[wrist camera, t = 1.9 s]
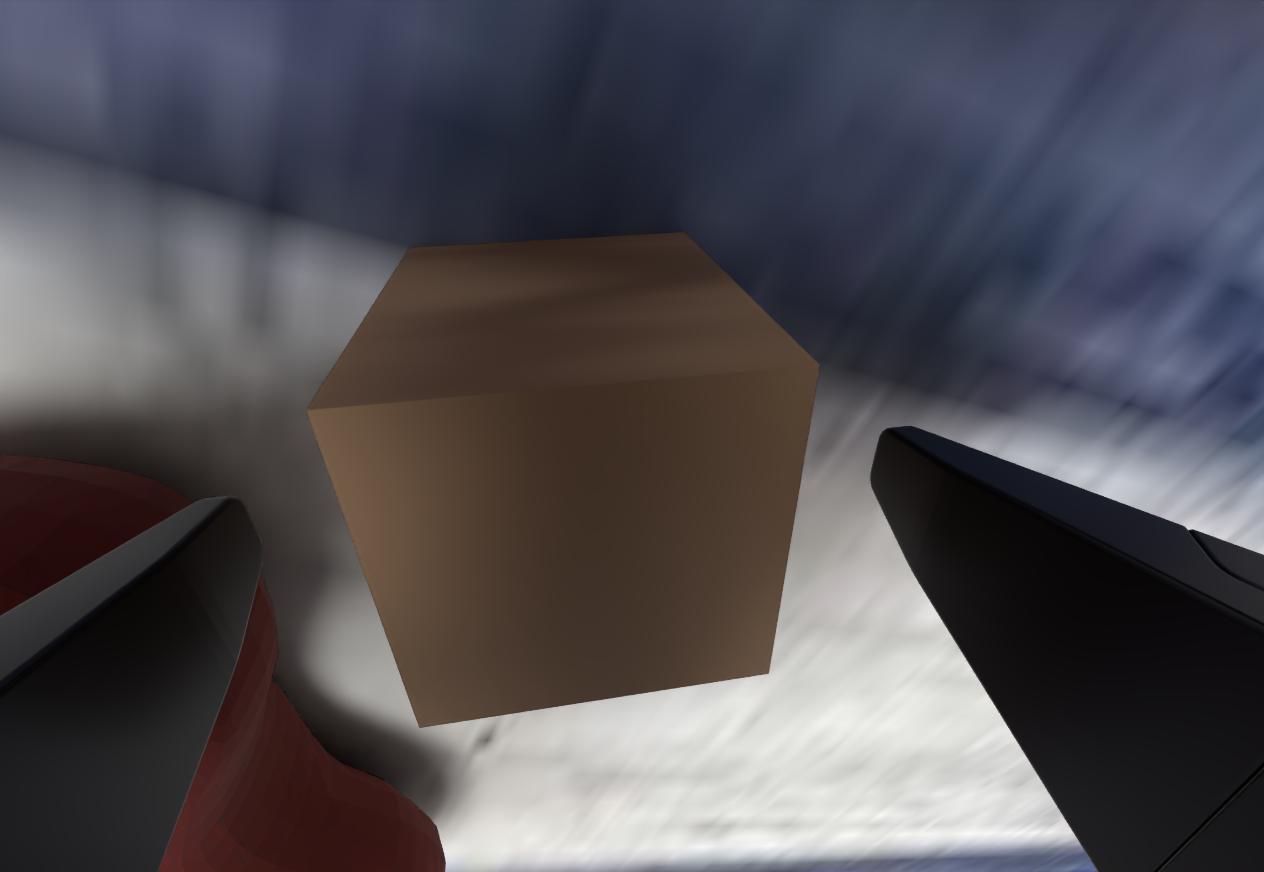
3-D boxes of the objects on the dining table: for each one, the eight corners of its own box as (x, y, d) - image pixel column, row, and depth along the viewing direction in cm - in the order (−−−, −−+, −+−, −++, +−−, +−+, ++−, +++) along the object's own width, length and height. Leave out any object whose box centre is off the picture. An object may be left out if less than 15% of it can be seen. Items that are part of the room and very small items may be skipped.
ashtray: (-746, 527, 10) (-1653, 853, 6) (224, 347, 11) (42, 518, 7) (-1, 924, 20) (-142, 1154, 16) (482, 810, 21) (472, 997, 16)
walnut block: (684, 231, 11) (819, 365, 6) (677, 453, 14) (768, 673, 9) (409, 247, 10) (305, 409, 5) (458, 475, 13) (419, 727, 8)
